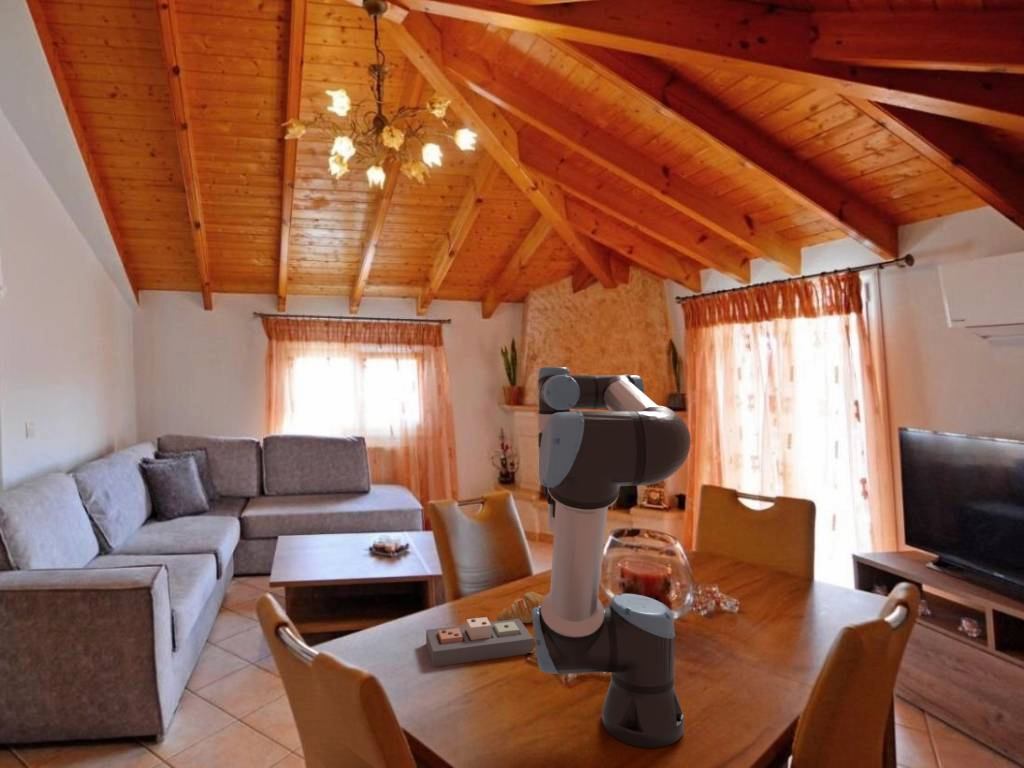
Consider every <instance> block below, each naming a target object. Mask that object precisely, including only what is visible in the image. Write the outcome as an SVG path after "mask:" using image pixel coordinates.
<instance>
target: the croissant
mask: <svg viewBox="0 0 1024 768" xmlns="http://www.w3.org/2000/svg"><path fill="white" fill-rule="evenodd" d="M546 595H547V594H543V593H540V592H538V591H529V592H524V594H522V595H521V596H520V597H519V598H517V599H515V600H514V601H512V603H511V604H510V605H507V606H505V607H504V608H503V609H502V611H501V612H498V613H497V614H496V620H497V621H505V620H513V619H520V621H521V622H522V623H523V624H533V615H532V611H533V609H534V608H535V607H538V606H541V605H542V601H543V599H544V597H545V596H546Z"/></svg>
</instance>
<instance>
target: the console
mask: <svg viewBox="0 0 1024 768" xmlns="http://www.w3.org/2000/svg"><path fill="white" fill-rule="evenodd" d="M513 621H514V623H515V624H516V626H517V627H518V628H519V635H512V636H505V637H497V635H496V633H495V632H494V624H496V623H505V622H513ZM489 622H490V624H491V638H485V639H477V640H471V639H470V637H469V635H468V633H467V624H464V625H455V626H447V627H439V628H430V629H426V630H425V632H426V633H425V636H426V638H425V639H426V640H425V643H426V644H425V645H426V648H427V650H428V654H429V658H430V660H431V663H432V667H434V668H435V667H441V666H449V665H455V664H456V665H457V664H463V663H472V662H478V661H486V660H493V659H500V658H507V657H514V656H515V657H516V656H521V655H528V654H527V653H529V652H532V651H533V652H534V636H532V634H531V633H530V632H529V630H528V629H527V627H526V626H525V624H524V623H522V622H521V621H520V619H513V620H505V621H498V620H497V621H489ZM454 628H459V630H460V632H461V634H462V636H463V642H457V643H449V644H441V645H440V643H439V641H438V630H446V629H454Z"/></svg>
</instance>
